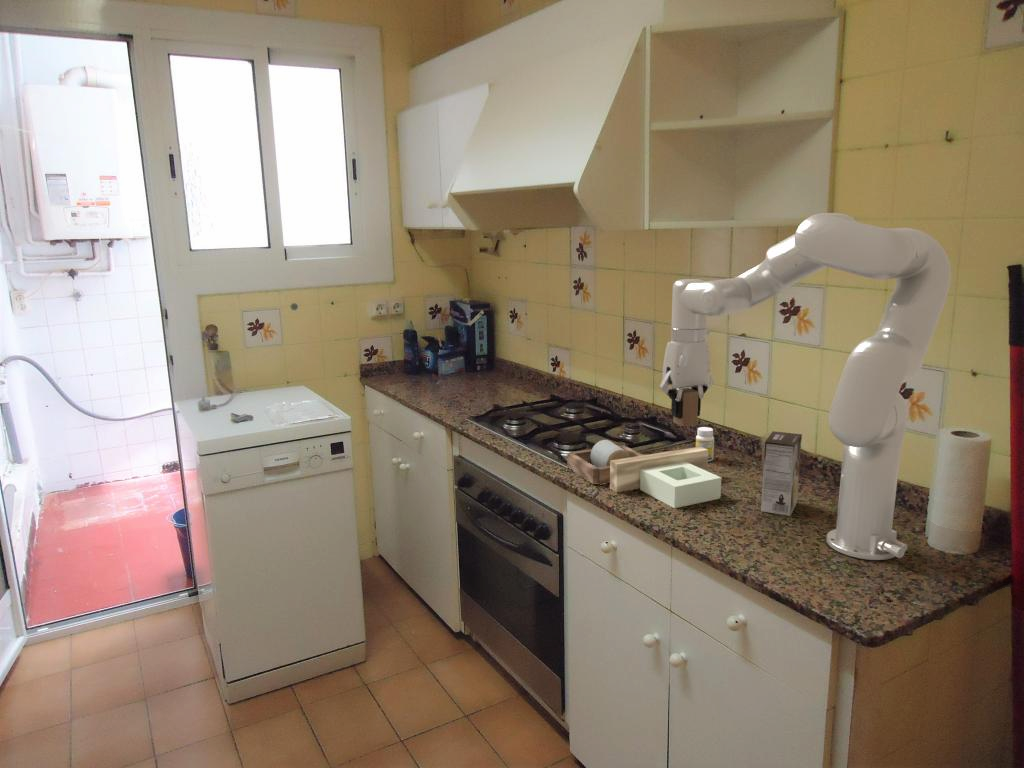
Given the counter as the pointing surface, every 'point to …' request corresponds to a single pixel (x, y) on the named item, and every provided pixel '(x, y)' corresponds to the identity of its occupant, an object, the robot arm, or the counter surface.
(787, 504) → the coffee box
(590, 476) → the brown wooden tray
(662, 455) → the birch wall
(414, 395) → the counter surface
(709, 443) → the supplement bottle
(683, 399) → the wooden block
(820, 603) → the counter surface
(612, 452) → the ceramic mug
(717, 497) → the socket block
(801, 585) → the counter surface
